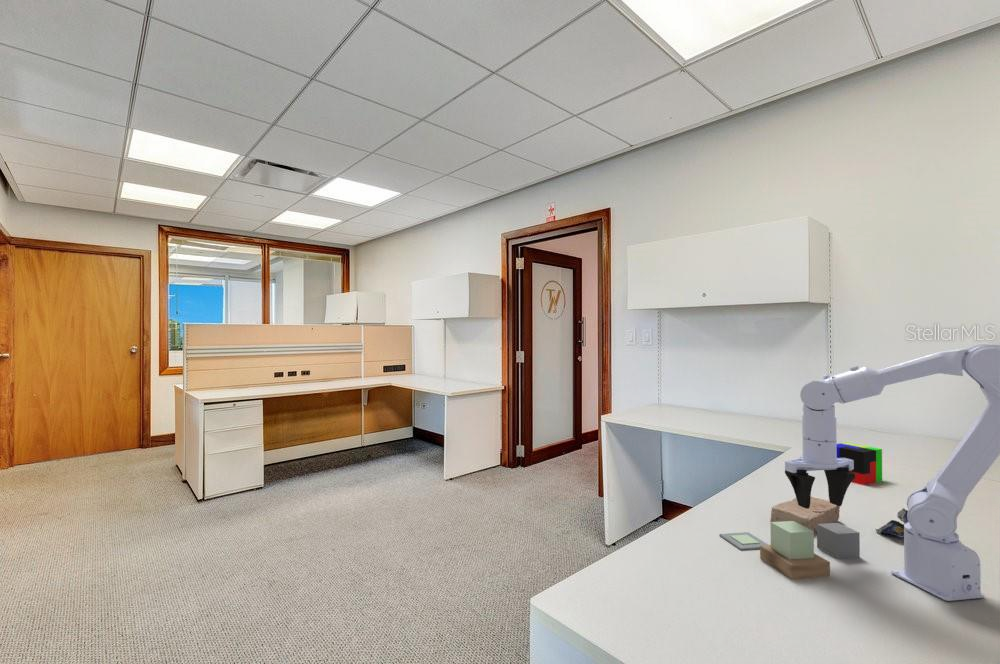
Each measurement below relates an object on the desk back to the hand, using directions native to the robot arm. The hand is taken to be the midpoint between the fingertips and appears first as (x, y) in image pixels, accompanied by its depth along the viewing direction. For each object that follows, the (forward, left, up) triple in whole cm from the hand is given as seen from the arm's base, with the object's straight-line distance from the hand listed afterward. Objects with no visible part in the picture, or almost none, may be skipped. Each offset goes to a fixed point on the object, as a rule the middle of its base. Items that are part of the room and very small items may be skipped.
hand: (819, 505), depth 93 cm
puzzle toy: (+43, -54, -10) cm, 70 cm away
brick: (+15, -10, -10) cm, 21 cm away
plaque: (+7, +12, -10) cm, 17 cm away
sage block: (-3, +10, -7) cm, 12 cm away
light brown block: (-4, +9, -10) cm, 15 cm away
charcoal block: (0, -4, -10) cm, 11 cm away
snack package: (+4, -28, -10) cm, 30 cm away
